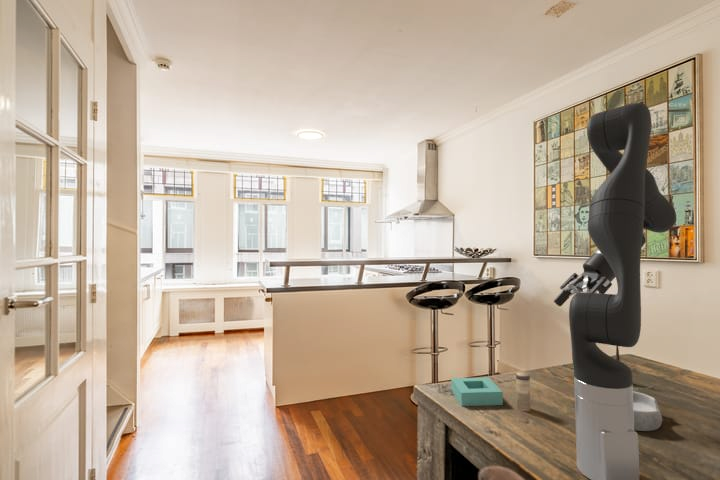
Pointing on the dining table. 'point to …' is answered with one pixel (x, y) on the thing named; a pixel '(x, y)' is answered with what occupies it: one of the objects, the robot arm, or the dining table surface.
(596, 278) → the robot arm
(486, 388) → the teal square frame
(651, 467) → the dining table surface
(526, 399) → the tan banded cylinder
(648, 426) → the dish
